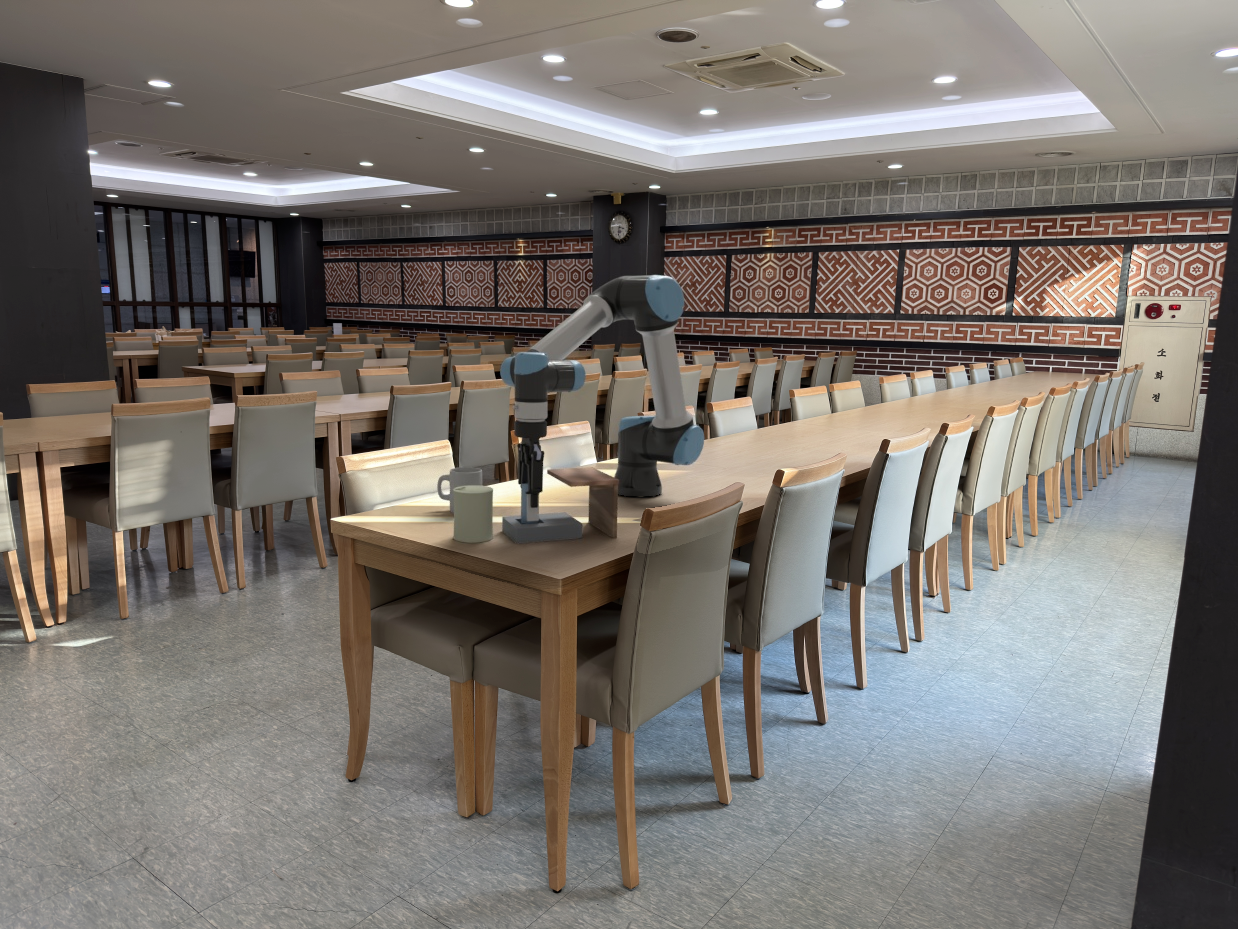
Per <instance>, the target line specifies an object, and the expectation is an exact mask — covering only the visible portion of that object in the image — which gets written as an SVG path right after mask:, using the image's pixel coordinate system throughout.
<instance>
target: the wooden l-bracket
mask: <svg viewBox="0 0 1238 929" xmlns="http://www.w3.org/2000/svg"><path fill="white" fill-rule="evenodd" d="M546 471H547V472H546V474H548V476H551V477H552V478H554V479H556V480H558V481H560V482H562V483H564V484H565V485H566V486H569V487H570V488H572V487H573V488H574V487H575V488H576V487H588V523H590V524H591V525H592V526H594V527H595V528H597V529H598V530H600V532H603V533H604V534H606V535H608V536H609V537H611V538H612V539H614V538H617V536H618V535H617V534H618V507H619V506H618V504H619V502H618V501H619V500H618V499H619V495H618V484H619V480H618V479H616V478H614V476H612V475H609V474H608V473H606V472H603V471H602V470H598V469H597V468H595V467H573V468H553V469H552V468H551V469H547V470H546Z"/></svg>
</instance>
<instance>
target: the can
mask: <svg viewBox="0 0 1238 929" xmlns="http://www.w3.org/2000/svg"><path fill="white" fill-rule="evenodd" d="M453 494H454V513H453V537H452V539H454V541H457V542H459V543H468V544H471V543H472V544H473V543H475V544H478V543H484V542H489V541H491V540H493V539H494V531H493V530H494V528H493V527H494V526H493V525H494V524H493V523H494V522H493V519H494V518H493V515H494V514H493V512H494V510H493V506H494V505H493V504H494V499H493V498H494V497H493V496H494V488H493V487H491V486H488V485H482V486H480V485H468V486H460V487H456V488H454V489H453Z"/></svg>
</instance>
